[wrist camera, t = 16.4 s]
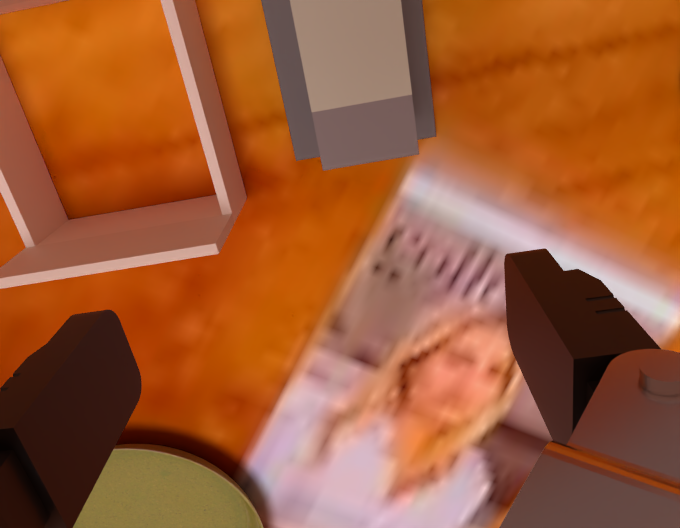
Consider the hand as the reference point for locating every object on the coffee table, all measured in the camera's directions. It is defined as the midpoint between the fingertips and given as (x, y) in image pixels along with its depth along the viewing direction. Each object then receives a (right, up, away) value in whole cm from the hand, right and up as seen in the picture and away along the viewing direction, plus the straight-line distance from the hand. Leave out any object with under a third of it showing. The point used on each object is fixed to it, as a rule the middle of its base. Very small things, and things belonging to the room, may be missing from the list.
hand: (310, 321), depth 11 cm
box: (+1, +14, +22) cm, 26 cm away
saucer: (-16, -21, +40) cm, 48 cm away
